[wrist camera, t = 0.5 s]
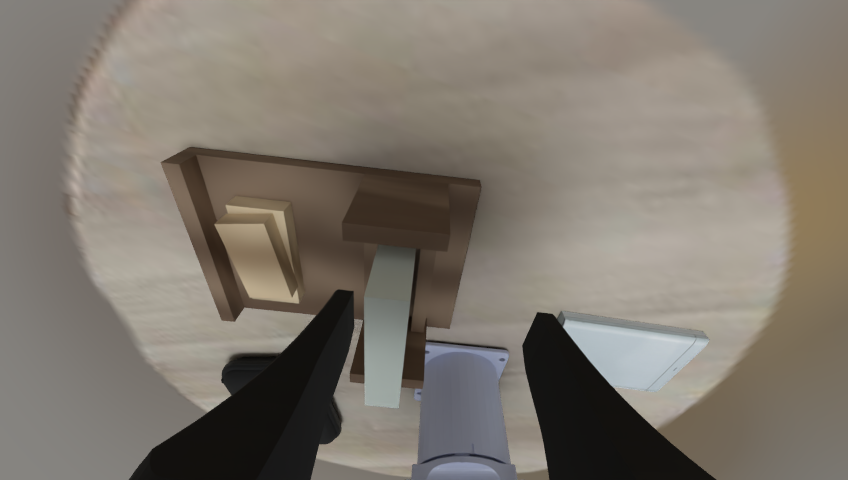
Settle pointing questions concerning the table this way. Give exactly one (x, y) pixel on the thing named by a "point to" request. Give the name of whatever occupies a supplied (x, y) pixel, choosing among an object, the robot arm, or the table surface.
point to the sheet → (387, 323)
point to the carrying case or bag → (249, 367)
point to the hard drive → (633, 349)
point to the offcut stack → (263, 248)
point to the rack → (334, 233)
